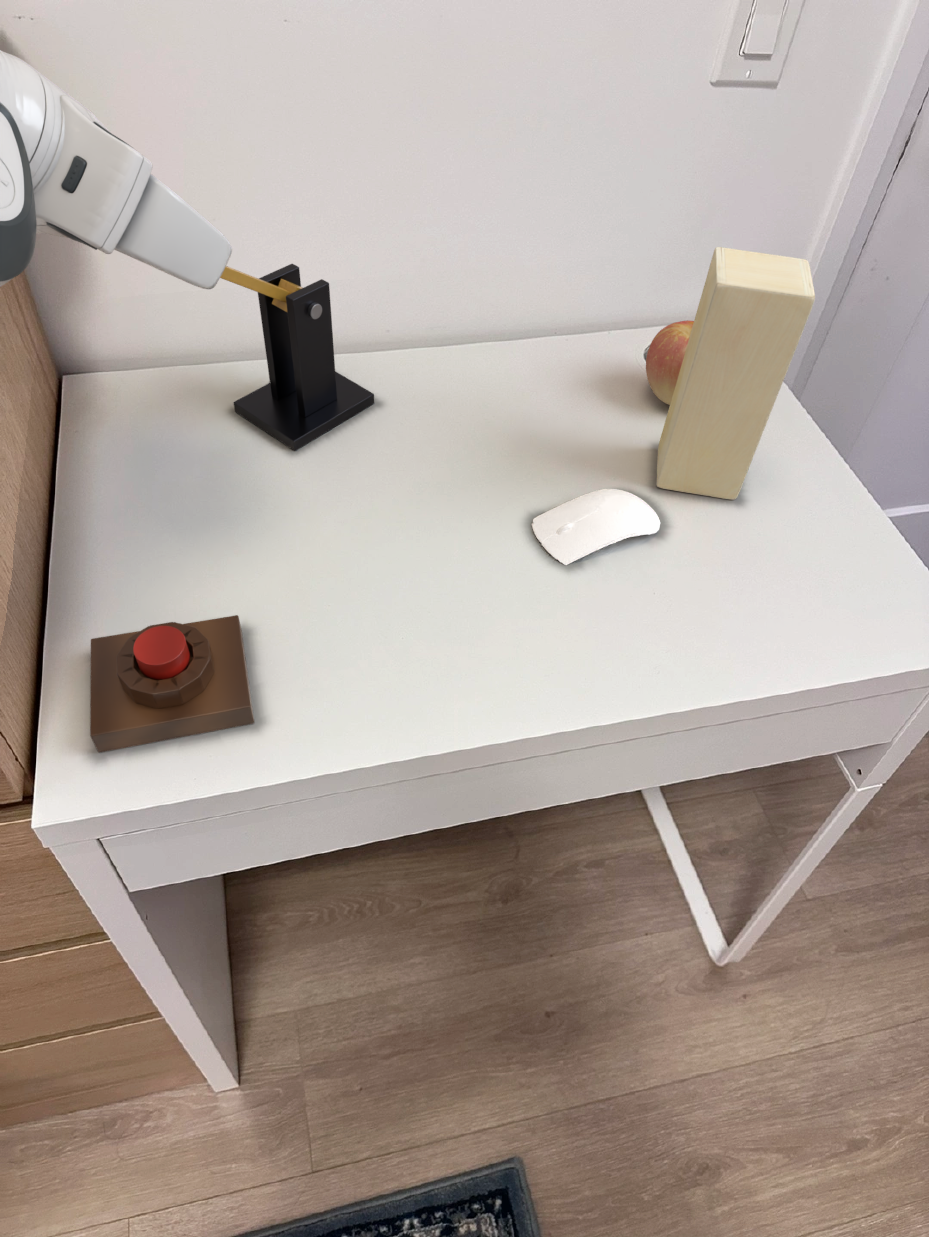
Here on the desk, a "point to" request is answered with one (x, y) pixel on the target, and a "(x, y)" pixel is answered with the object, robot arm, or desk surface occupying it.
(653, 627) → the desk surface
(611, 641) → the desk surface
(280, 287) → the bolt lever
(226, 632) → the release housing
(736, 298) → the tall wooden block
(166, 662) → the release button
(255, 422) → the bolt bracket
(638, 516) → the computer mouse
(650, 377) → the apple
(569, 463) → the desk surface
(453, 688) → the desk surface
